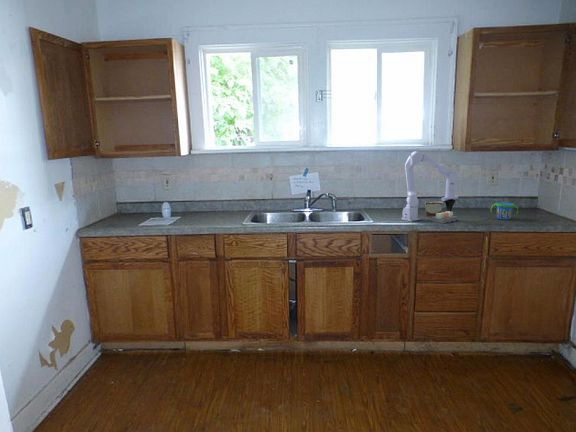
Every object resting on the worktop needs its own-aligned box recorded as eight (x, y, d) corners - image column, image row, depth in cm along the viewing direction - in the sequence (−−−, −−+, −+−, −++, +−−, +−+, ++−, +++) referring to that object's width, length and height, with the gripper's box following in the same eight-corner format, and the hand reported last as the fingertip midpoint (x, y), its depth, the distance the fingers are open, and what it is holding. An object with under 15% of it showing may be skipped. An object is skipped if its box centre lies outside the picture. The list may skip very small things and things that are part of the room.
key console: (442, 223, 240) (443, 219, 239) (430, 221, 247) (430, 217, 247) (457, 220, 248) (457, 216, 247) (445, 218, 255) (445, 214, 254)
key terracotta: (444, 218, 245) (445, 213, 244) (440, 217, 248) (440, 212, 247) (448, 218, 246) (448, 212, 246) (443, 217, 249) (443, 212, 249)
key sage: (440, 219, 242) (440, 214, 242) (435, 218, 245) (435, 213, 244) (443, 219, 244) (444, 213, 243) (439, 218, 247) (439, 212, 246)
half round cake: (440, 214, 266) (441, 200, 264) (442, 216, 260) (443, 202, 258) (421, 214, 268) (422, 200, 266) (423, 216, 262) (424, 202, 260)
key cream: (449, 217, 247) (449, 212, 246) (444, 217, 250) (445, 211, 249) (452, 217, 249) (453, 212, 248) (447, 216, 252) (448, 211, 251)
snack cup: (517, 218, 251) (518, 203, 249) (517, 221, 242) (519, 205, 240) (490, 216, 258) (491, 201, 256) (489, 219, 249) (490, 204, 247)
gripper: (448, 191, 239) (447, 213, 241) (463, 189, 246) (461, 210, 249) (439, 190, 245) (437, 211, 247) (453, 188, 252) (451, 208, 255)
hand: (449, 210), depth 249 cm, fingers closed
